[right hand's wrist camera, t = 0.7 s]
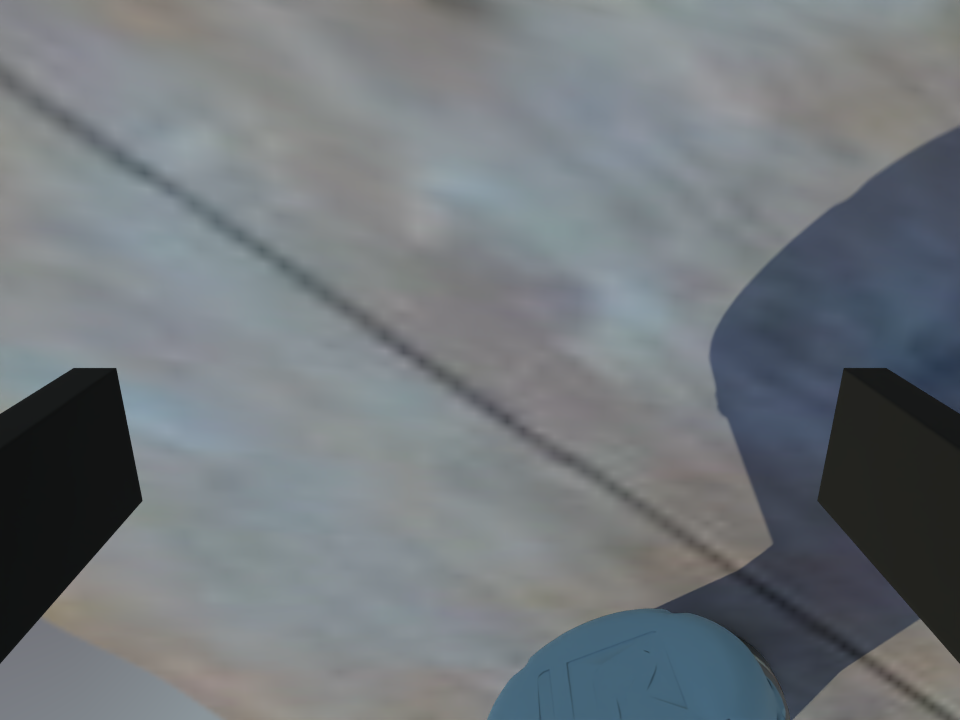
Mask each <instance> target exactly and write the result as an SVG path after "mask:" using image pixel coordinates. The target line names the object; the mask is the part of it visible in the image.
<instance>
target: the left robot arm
mask: <svg viewBox="0 0 960 720" xmlns="http://www.w3.org/2000/svg"><path fill="white" fill-rule="evenodd" d="M487 720H790V715H789V710H788V707H787V704H786V701H785V698H784V694H783V692H782V689H781V687H780V685H779V683H778V681H777V679H776V677H775V675H774V674H773V672H772V670H771V668H770V666H769V664H768V663H767V662H766V660H765V659H764V658H763V657H762V655H761V654H760V653H759V652H758V651H757V650H756V649H754V648H753V647H752V646H751V645H750V644H748V643H747V642H745V641H744V640H742V639H740V638H738V637H737V636H735V635H734V634H733V633H731V632H730V631H728V630H727V629H726V628H724V627H722V626H720V625H719V624H717V623H715V622H713V621H711V620H709V619H706V618H704V617H701V616H699V615H695V614H691V613H674V614H673V613H671V612H670V611H668V610H665V609H637V610H629V611H623V612H617V613H613V614H610V615H606V616H603V617H600V618H597V619H594V620H591V621H589V622H586V623H584V624H582V625H580V626H577V627H575V628H573V629H571V630H569V631H567V632H566V633H564V634H562V635H560V636H559V637H557V638H556V639H554V640H553V641H551V642H550V643H548V644H547V645H545V646H544V647H543V648H541V649H540V650H539V651H538V652H537V653H535V654H534V655H533V656H532V657H531V658H530V659H529V662H528V663H527V665H526V666H525V667H524V668H523V669H522V670H521V671H519V672H518V673H517V674H515V675H514V676H513V677H512V678H511V679H510V680H509V682H508V683H507V684H506V686H505V687H504V689H503V690H502V692H501V693H500V695H499V697H498V698H497V700H496V702H495V704H494V705H493V707H492V710H491V712H490V714H489V716H488V719H487Z"/></svg>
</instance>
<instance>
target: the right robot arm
mask: <svg viewBox="0 0 960 720" xmlns="http://www.w3.org/2000/svg"><path fill="white" fill-rule="evenodd" d="M141 502H142V496H141V491H140V486H139V480H138V475H137V470H136V465H135V460H134V455H133V450H132V445H131V440H130V435H129V430H128V425H127V420H126V415H125V410H124V405H123V400H122V395H121V390H120V385H119V380H118V375H117V370H116V368H73V369H72V370H70V371H68V372H67V373H65V374H64V375H62V376H60V377H59V378H57V379H56V380H54V381H52V382H51V383H49V384H48V385H46V386H44V387H43V388H41V389H40V390H38V391H36V392H35V393H33V394H32V395H30V396H28V397H27V398H25V399H23V400H22V401H20V402H19V403H17V404H15V405H14V406H12V407H11V408H9V409H7V410H6V411H4V412H3V413H1V414H0V663H1V662H2V661H3V660H4V659H5V658H6V656H7V655H8V654H9V653H10V652H11V651H12V650H13V648H14V647H15V646H16V645H17V644H18V643H19V641H20V640H21V639H22V638H23V637H24V636H25V635H26V633H27V632H28V631H29V630H30V629H31V628H32V627H33V626H34V624H35V623H36V622H37V621H38V620H39V619H40V617H41V616H42V615H43V614H44V613H45V612H46V611H47V609H48V608H49V607H50V606H51V605H52V604H53V603H54V601H55V600H56V599H57V598H58V597H59V596H60V595H61V593H62V592H63V591H64V590H65V589H66V588H67V587H68V585H69V584H70V583H71V582H72V581H73V580H74V579H75V577H76V576H77V575H78V574H79V573H80V572H81V571H82V569H83V568H84V567H85V566H86V565H87V564H88V563H89V561H90V560H91V559H92V558H93V557H94V556H95V555H96V553H97V552H98V551H99V550H100V549H101V548H102V547H103V545H104V544H105V543H106V542H107V541H108V540H109V539H110V537H111V536H112V535H113V534H114V533H115V532H116V530H117V529H118V528H119V527H120V526H121V525H122V524H123V522H124V521H125V520H126V519H127V518H128V517H129V516H130V514H131V513H132V512H133V511H134V510H135V509H136V508H137V506H138V505H139V504H140V503H141ZM818 502H819V503H820V504H821V505H822V506H823V508H824V509H825V510H826V511H827V512H828V513H829V514H830V516H831V517H832V518H833V519H834V520H835V521H836V522H837V524H838V525H839V526H840V527H841V528H842V529H843V530H844V532H845V533H846V534H847V535H848V536H849V537H850V539H851V540H852V541H853V542H854V543H855V544H856V545H857V547H858V548H859V549H860V550H861V551H862V552H863V553H864V555H865V556H866V557H867V558H868V559H869V560H870V561H871V563H872V564H873V565H874V566H875V567H876V568H877V569H878V571H879V572H880V573H881V574H882V575H883V576H884V577H885V579H886V580H887V581H888V582H889V583H890V584H891V585H892V587H893V588H894V589H895V590H896V591H897V592H898V593H899V595H900V596H901V597H902V598H903V599H904V600H905V601H906V603H907V604H908V605H909V606H910V607H911V608H912V609H913V611H914V612H915V613H916V614H917V615H918V616H919V617H920V619H921V620H922V621H923V622H924V623H925V624H926V626H927V627H928V628H929V629H930V630H931V631H932V632H933V634H934V635H935V636H936V637H937V638H938V639H939V640H940V642H941V643H942V644H943V645H944V646H945V647H946V648H947V650H948V651H949V652H950V653H951V654H952V655H953V656H954V658H955V659H956V660H957V661H958V662H959V663H960V414H959V413H957V412H956V411H954V410H953V409H951V408H949V407H948V406H946V405H945V404H943V403H941V402H940V401H938V400H937V399H935V398H933V397H932V396H930V395H928V394H927V393H925V392H924V391H922V390H920V389H919V388H917V387H916V386H914V385H912V384H911V383H909V382H908V381H906V380H904V379H903V378H901V377H900V376H898V375H896V374H895V373H893V372H892V371H890V370H888V369H887V368H844V370H843V375H842V380H841V385H840V390H839V395H838V400H837V405H836V410H835V415H834V420H833V425H832V430H831V435H830V440H829V445H828V450H827V455H826V460H825V465H824V470H823V475H822V480H821V486H820V491H819V496H818Z"/></svg>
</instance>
